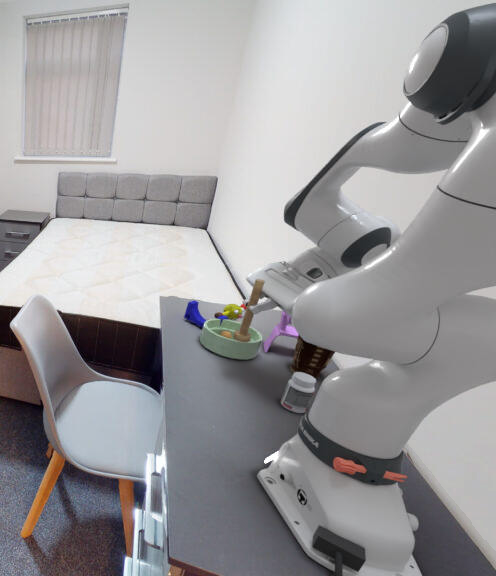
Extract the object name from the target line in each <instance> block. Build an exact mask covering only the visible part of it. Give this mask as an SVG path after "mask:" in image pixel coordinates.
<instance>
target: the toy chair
mask: <svg viewBox="0 0 496 576" xmlns="http://www.w3.org/2000/svg"><path fill="white" fill-rule="evenodd" d="M292 324H293V322H292V317H291V316H289V315H288V314H287V313H286V312H284V311H283V310H281V315H280V321H279V322H278V323H276V325H275V326H274V327H273V329H272V331H271V333H269V336H268V337H267V338H266V339H265V341H264V342H263V350H264V353H267V352H268V350H269V349H270V347H271V345H272V344H273V343H274V341H275V340H276V339H277V338H278V337H281V336H283V337H288V338H294V339H297V340H298V333H297V331H296V329H295V327H294V326H291V325H292Z"/></svg>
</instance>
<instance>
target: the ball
mask: <svg viewBox="0 0 496 576" xmlns="http://www.w3.org/2000/svg"><path fill="white" fill-rule="evenodd" d="M220 335H221V336H223V337H226V338H229V339H231V338H232V335H231V333H230V332H228V331H223V332H221V334H220Z"/></svg>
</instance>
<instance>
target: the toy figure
mask: <svg viewBox="0 0 496 576" xmlns="http://www.w3.org/2000/svg"><path fill="white" fill-rule="evenodd" d="M246 308H247V307H246V306H245V305H244V304H243V303H241V304H240V305H238V304H236V303H229V304H226V305H225V306H224V307H223V310H222V312H221V311H217V312H215V313H214V314H213V316H214V319H217V317H219V316H223V315H225V316H227V317H228V320H232V321H233V320H236V319H240V318H242V314H243V312H245V311H246Z"/></svg>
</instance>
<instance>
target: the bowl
mask: <svg viewBox="0 0 496 576" xmlns="http://www.w3.org/2000/svg"><path fill="white" fill-rule="evenodd" d="M206 320H207V321H205V323H204V325H203V328H202V329H201V332H200V336H199V341H200V343H201V345H202V346H203V347H204V348H206V349H207V350H209V351H210V352H213V353H214V354H217V355H219V356H222V357H225V358H228V359H232V360H233V359H234V360H252V359H254V358H256V357H257V356H258V353H259V350H260V348H261V345H262V342H263V338H264V337H263V335H262V333H261V332H260V331H259V330H257V328H254V327H252V326H250V328H249V331H248V333H250V334H251V339H250V341H249V342H240V341H237V340H235V339H234V338H233V334H234V331H235V330H240V327H241V323H242V322H239V321H236V320H233V319H232V320H230V319H229V320H227V319H224V320H223V321H222V323H221V325H220V322H221V320H220V319H216V318H210V319H206ZM219 326H220V327H219ZM223 331H228V332H230V333H231V335H232V338H231V339H229V338H226V337H223V336H221V335H220V334H221V332H223Z"/></svg>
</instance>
